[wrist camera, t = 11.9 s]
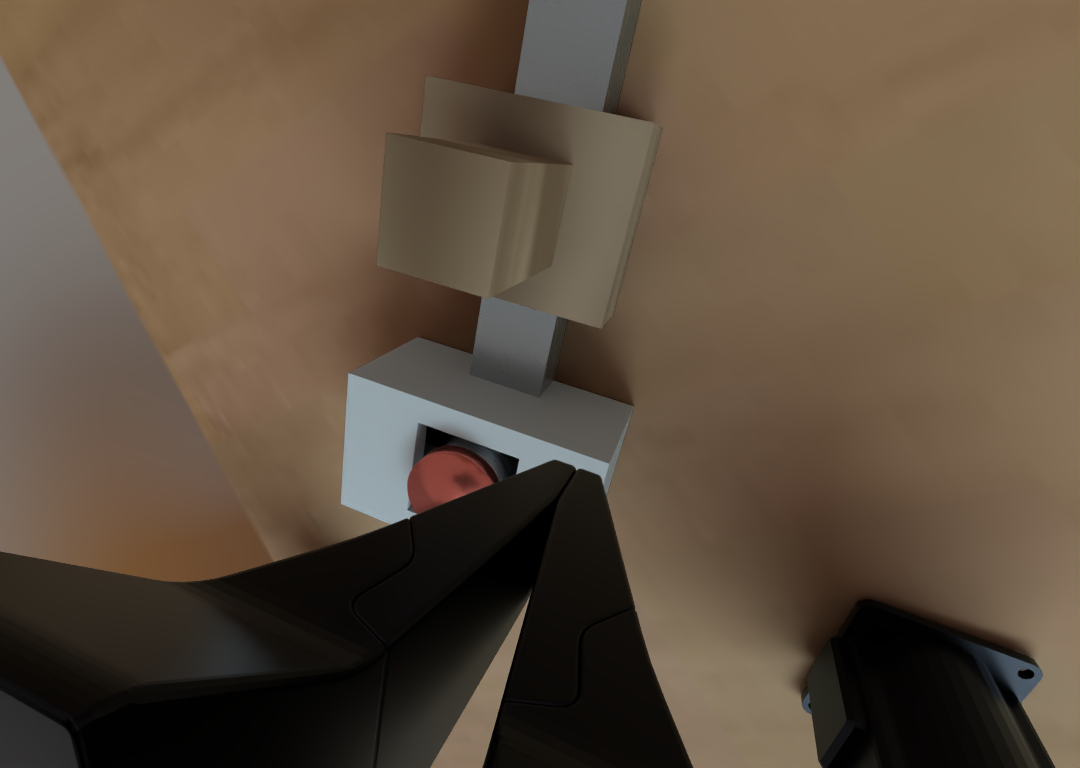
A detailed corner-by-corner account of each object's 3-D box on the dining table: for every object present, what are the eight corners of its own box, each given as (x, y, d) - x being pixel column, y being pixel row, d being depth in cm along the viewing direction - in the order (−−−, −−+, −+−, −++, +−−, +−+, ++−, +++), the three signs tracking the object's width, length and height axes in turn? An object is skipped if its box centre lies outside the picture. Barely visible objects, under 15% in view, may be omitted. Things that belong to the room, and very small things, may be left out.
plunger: (545, 416, 23) (501, 475, 18) (530, 483, 24) (485, 552, 20) (472, 391, 24) (411, 442, 19) (461, 457, 25) (403, 519, 21)
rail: (730, -384, 14) (730, -464, 12) (553, 380, 23) (538, 397, 21) (618, -385, 15) (603, -460, 13) (489, 359, 24) (469, 374, 22)
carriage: (669, 132, 18) (621, 101, 10) (623, 302, 21) (555, 382, 13) (479, 92, 20) (311, 39, 12) (457, 256, 22) (305, 301, 14)
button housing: (633, 406, 22) (609, 463, 18) (598, 521, 25) (569, 597, 20) (417, 336, 25) (348, 373, 20) (405, 449, 27) (340, 503, 23)
